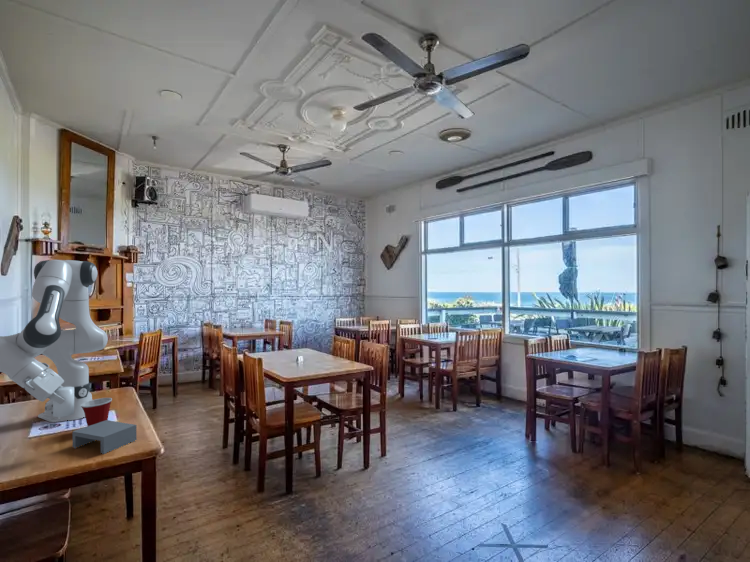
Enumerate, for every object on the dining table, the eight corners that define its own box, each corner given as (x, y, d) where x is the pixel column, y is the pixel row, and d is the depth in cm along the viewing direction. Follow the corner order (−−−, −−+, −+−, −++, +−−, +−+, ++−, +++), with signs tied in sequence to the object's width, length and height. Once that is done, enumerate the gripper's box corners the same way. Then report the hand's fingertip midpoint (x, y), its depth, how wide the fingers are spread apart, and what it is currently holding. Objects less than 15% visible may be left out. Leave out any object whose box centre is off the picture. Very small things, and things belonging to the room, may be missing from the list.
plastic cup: (84, 427, 172) (84, 398, 172) (114, 424, 176) (114, 396, 176) (76, 436, 161) (76, 406, 161) (109, 433, 166) (109, 403, 165)
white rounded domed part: (48, 415, 145) (48, 390, 145) (65, 410, 150) (65, 386, 150) (61, 417, 143) (61, 391, 143) (78, 412, 149) (78, 387, 149)
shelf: (72, 447, 151) (72, 431, 151) (106, 435, 163) (106, 420, 163) (103, 454, 145) (103, 437, 145) (136, 440, 158) (136, 424, 158)
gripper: (29, 373, 134) (66, 400, 139) (47, 362, 153) (79, 385, 157) (12, 389, 132) (50, 415, 137) (31, 375, 151) (64, 398, 155)
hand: (65, 399), depth 147 cm, fingers closed on white rounded domed part, 6 cm apart
